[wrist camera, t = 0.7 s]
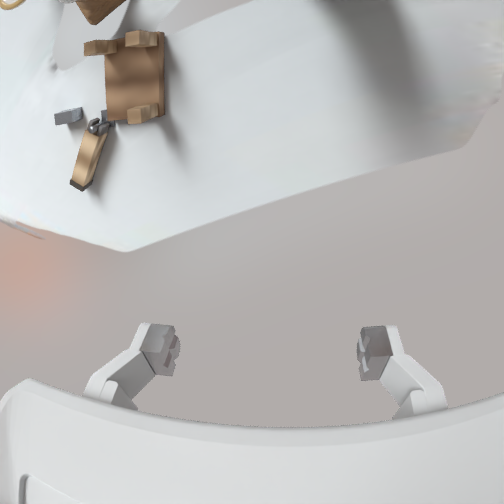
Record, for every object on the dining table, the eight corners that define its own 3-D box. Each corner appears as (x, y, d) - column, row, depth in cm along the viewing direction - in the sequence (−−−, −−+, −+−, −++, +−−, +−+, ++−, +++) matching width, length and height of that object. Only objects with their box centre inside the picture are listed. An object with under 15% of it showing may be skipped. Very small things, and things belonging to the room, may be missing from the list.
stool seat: (111, 42, 39) (82, 41, 31) (164, 32, 38) (141, 27, 31) (114, 118, 48) (87, 130, 41) (164, 114, 48) (143, 124, 40)
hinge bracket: (100, 110, 47) (86, 115, 43) (113, 108, 47) (100, 113, 43) (101, 127, 50) (88, 133, 46) (115, 126, 49) (102, 132, 45)
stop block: (64, 110, 47) (54, 114, 44) (81, 107, 47) (71, 110, 44) (65, 121, 49) (55, 125, 46) (82, 118, 48) (72, 122, 45)
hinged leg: (97, 116, 48) (87, 120, 45) (112, 124, 49) (102, 128, 46) (78, 177, 56) (69, 183, 53) (91, 184, 57) (82, 191, 54)
